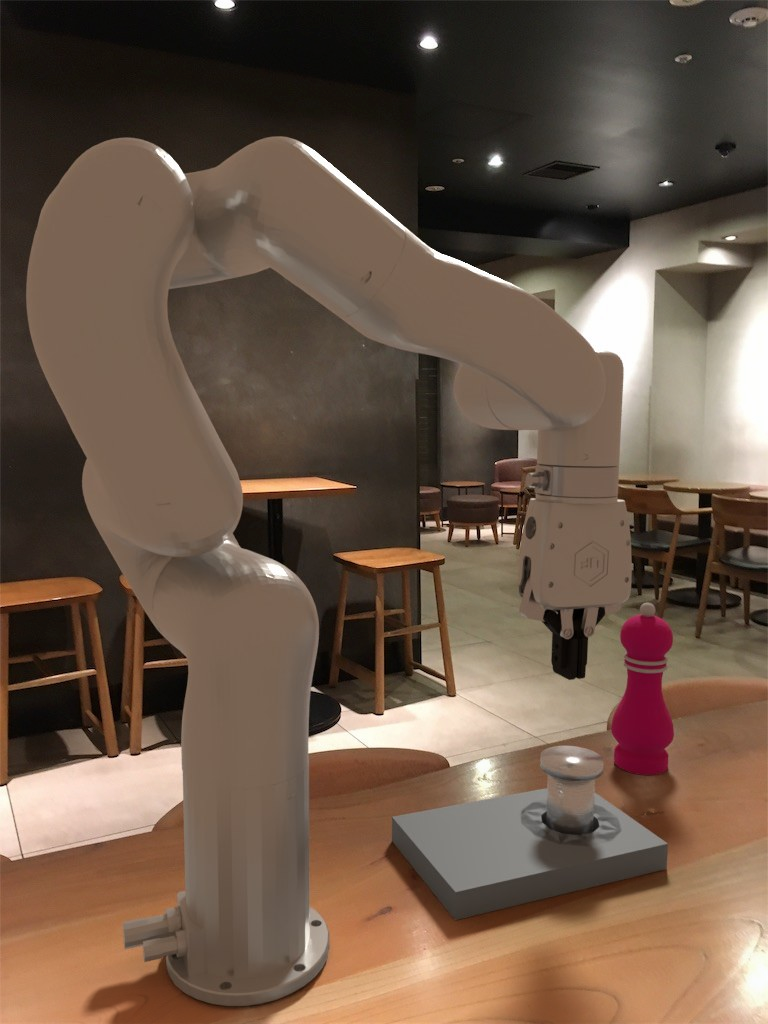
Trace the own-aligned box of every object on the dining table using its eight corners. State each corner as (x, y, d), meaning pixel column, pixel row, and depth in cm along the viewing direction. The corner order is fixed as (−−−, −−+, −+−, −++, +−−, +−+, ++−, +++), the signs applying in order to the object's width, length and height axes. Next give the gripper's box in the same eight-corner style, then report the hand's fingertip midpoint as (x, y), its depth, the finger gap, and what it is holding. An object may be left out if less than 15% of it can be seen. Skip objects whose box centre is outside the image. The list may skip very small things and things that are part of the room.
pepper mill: (676, 780, 97) (684, 611, 95) (611, 774, 99) (618, 608, 96) (668, 755, 104) (675, 597, 102) (608, 750, 106) (614, 594, 103)
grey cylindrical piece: (560, 866, 78) (563, 775, 77) (526, 836, 84) (528, 750, 83) (613, 854, 81) (616, 765, 80) (576, 826, 86) (579, 742, 85)
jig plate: (455, 920, 70) (455, 892, 70) (391, 840, 83) (392, 816, 83) (666, 868, 78) (667, 843, 78) (579, 803, 91) (579, 781, 91)
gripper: (528, 489, 72) (520, 695, 74) (668, 487, 78) (657, 679, 80) (486, 482, 79) (480, 671, 81) (618, 480, 85) (609, 657, 87)
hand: (568, 674), depth 80 cm, fingers closed
